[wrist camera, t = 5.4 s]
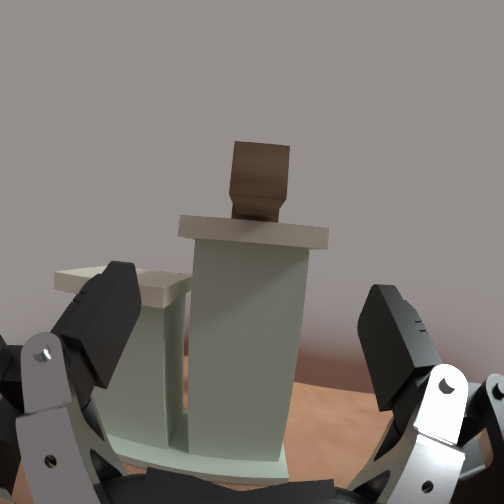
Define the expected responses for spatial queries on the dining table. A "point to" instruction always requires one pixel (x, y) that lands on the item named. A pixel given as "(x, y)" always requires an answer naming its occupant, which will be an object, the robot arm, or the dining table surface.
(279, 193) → the walnut leg
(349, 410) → the dining table surface
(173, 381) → the step stand
